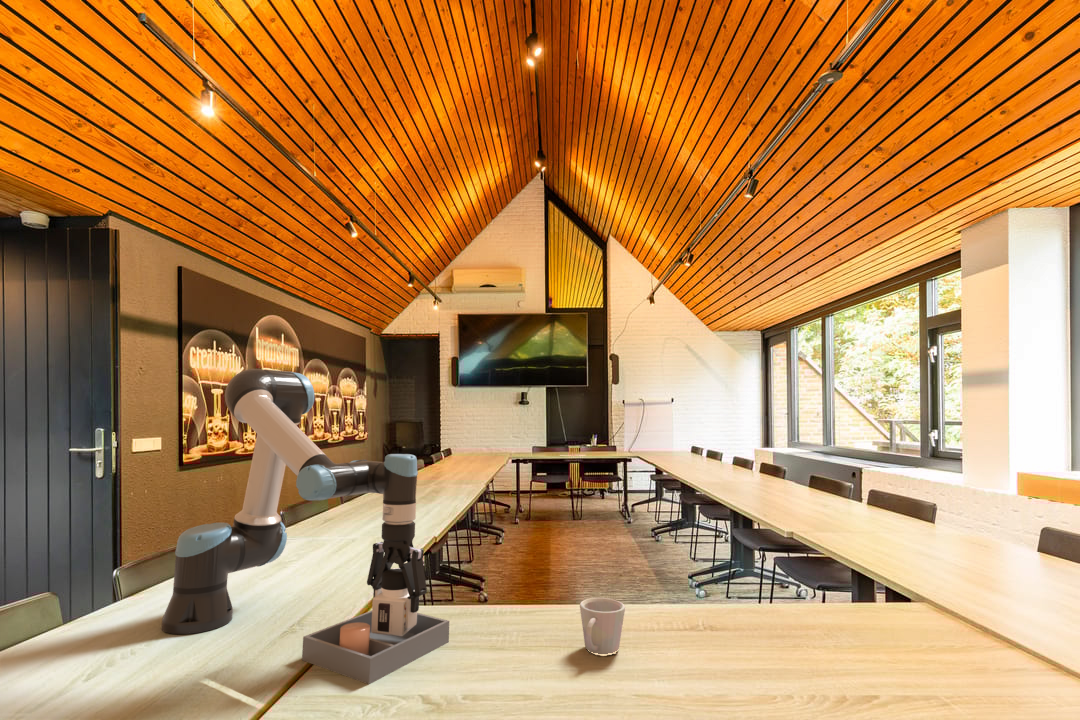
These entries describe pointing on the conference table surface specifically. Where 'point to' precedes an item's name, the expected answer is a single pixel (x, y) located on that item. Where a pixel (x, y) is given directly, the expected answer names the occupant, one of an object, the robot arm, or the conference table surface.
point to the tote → (374, 648)
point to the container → (390, 605)
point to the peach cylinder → (355, 637)
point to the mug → (602, 624)
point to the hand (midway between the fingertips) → (394, 622)
